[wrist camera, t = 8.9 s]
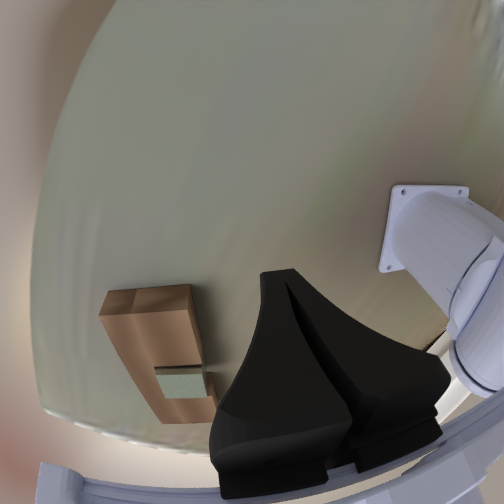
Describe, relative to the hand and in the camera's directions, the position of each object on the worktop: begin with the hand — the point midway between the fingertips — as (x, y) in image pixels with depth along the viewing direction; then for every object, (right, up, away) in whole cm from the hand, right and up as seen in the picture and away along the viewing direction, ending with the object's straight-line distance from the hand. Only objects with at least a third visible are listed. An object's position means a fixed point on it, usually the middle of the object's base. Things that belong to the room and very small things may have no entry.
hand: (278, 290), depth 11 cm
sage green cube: (-8, -8, +15) cm, 19 cm away
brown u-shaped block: (-9, -9, +15) cm, 20 cm away
